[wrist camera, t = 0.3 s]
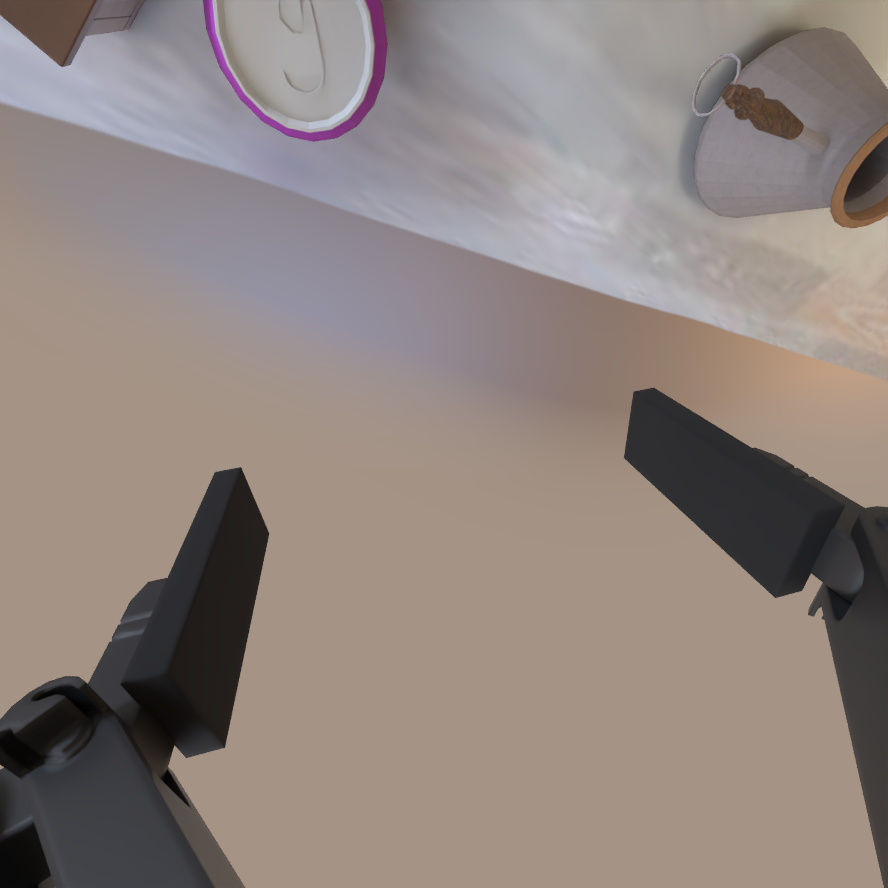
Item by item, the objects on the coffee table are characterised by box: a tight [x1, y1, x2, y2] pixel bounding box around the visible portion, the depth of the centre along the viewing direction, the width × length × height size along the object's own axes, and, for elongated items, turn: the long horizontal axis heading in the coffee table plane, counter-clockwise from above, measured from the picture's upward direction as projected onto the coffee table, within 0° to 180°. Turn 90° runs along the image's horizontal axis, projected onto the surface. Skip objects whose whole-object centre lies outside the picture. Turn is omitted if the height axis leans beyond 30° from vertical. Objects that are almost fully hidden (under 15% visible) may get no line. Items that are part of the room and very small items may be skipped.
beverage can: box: [203, 0, 387, 141], centre depth 21 cm, size 8×8×12 cm
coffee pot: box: [692, 27, 888, 228], centre depth 27 cm, size 21×12×15 cm, turn 74°
